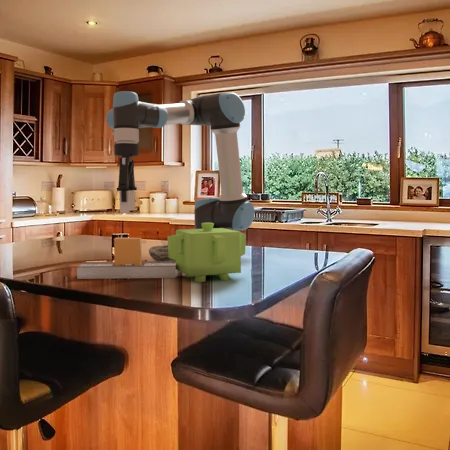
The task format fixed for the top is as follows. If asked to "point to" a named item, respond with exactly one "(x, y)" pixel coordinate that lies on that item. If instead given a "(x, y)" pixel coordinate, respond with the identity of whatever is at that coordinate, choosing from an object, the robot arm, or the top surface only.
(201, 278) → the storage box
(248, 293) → the top surface
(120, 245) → the tall orange block
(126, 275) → the rail
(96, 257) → the top surface
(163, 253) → the stone
